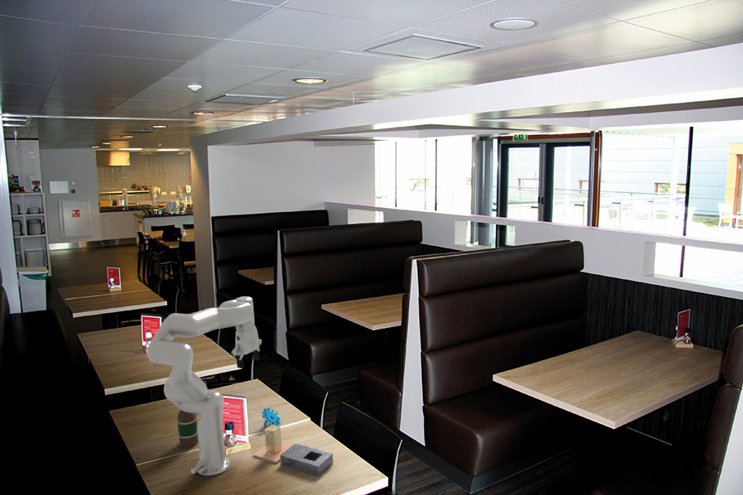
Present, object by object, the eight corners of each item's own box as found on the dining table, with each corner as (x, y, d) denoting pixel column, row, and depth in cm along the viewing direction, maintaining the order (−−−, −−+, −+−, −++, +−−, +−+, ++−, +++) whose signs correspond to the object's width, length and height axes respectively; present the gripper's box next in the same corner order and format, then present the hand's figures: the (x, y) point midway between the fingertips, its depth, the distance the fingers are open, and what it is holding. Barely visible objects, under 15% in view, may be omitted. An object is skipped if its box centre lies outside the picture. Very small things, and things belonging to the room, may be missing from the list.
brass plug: (274, 454, 217) (273, 431, 216) (266, 452, 220) (264, 429, 218) (281, 449, 221) (280, 426, 220) (273, 447, 223) (271, 424, 222)
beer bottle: (175, 445, 228) (170, 392, 225) (189, 437, 235) (185, 385, 232) (189, 449, 225) (184, 395, 221) (202, 441, 232) (198, 388, 228)
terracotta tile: (276, 463, 212) (276, 461, 212) (253, 456, 218) (253, 454, 218) (295, 449, 223) (294, 447, 223) (272, 442, 229) (272, 440, 228)
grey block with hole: (318, 476, 203) (318, 466, 202) (280, 464, 212) (280, 455, 211) (333, 463, 212) (332, 453, 211) (296, 452, 220) (295, 443, 220)
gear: (273, 428, 237) (260, 410, 240) (265, 436, 239) (251, 418, 241) (286, 420, 248) (273, 403, 250) (278, 428, 249) (265, 411, 252)
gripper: (237, 333, 220) (240, 372, 223) (265, 321, 234) (268, 358, 237) (224, 330, 224) (227, 369, 226) (252, 319, 238) (255, 356, 241)
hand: (248, 364), depth 232 cm, fingers open, 9 cm apart
